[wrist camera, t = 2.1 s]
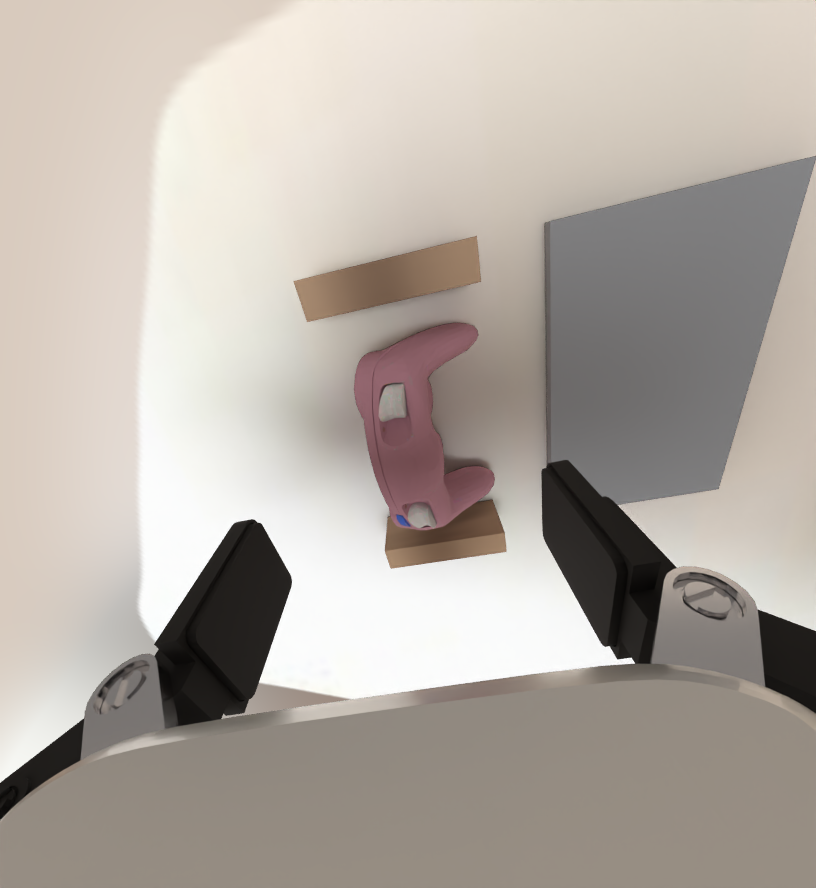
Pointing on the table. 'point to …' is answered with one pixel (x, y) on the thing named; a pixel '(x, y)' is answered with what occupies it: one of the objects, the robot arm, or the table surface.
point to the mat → (663, 328)
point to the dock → (388, 284)
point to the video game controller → (415, 429)
